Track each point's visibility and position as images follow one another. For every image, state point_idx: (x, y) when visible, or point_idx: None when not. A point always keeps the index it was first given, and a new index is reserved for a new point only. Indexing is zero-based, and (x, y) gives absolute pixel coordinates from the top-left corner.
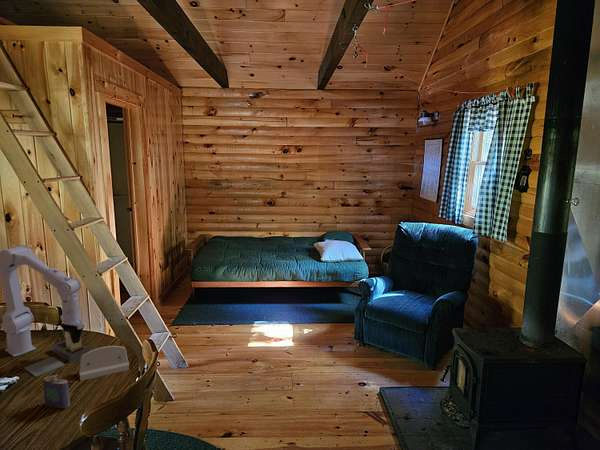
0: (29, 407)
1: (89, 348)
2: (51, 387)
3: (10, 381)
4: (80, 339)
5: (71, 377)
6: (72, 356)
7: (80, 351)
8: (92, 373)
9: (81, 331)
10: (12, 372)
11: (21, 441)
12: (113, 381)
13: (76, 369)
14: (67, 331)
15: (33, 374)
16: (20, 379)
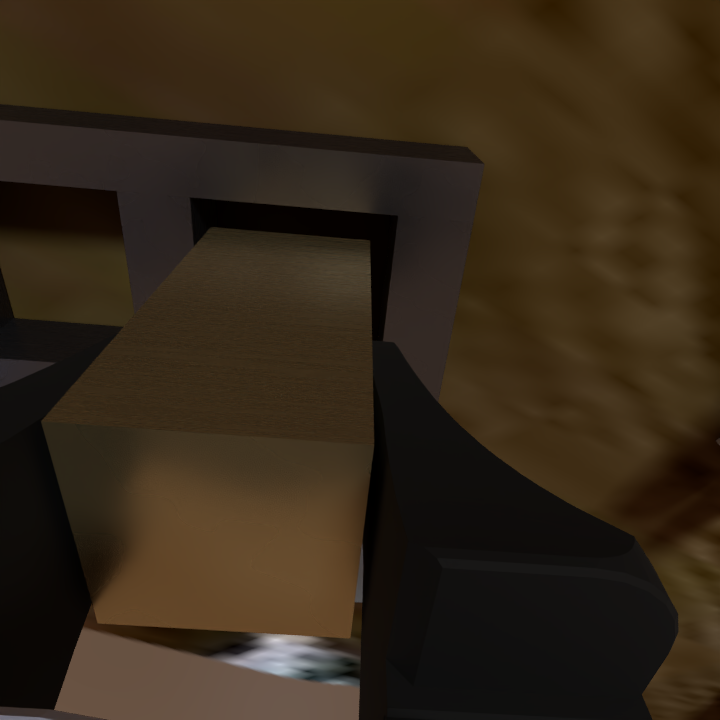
0: (687, 710)
1: (465, 162)
2: None
3: (306, 666)
4: (368, 314)
5: (678, 498)
6: (438, 392)
7: (430, 293)
8: None
9: (506, 475)
10: (184, 628)
11: None
12: None
13: (609, 418)
14: (184, 615)
15: (358, 600)
16: (335, 639)
